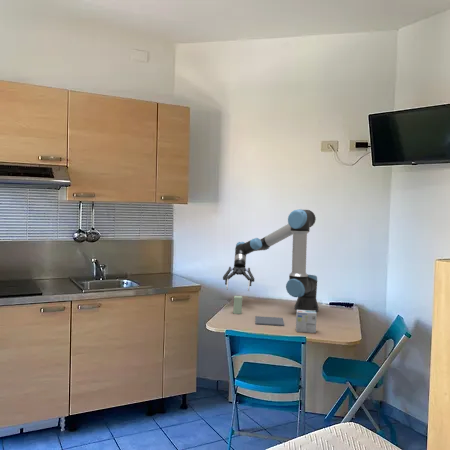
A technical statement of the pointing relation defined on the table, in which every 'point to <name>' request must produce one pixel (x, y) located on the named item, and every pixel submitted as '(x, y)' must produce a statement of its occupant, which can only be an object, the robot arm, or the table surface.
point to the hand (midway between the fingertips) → (237, 289)
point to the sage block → (237, 305)
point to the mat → (269, 321)
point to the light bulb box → (306, 321)
